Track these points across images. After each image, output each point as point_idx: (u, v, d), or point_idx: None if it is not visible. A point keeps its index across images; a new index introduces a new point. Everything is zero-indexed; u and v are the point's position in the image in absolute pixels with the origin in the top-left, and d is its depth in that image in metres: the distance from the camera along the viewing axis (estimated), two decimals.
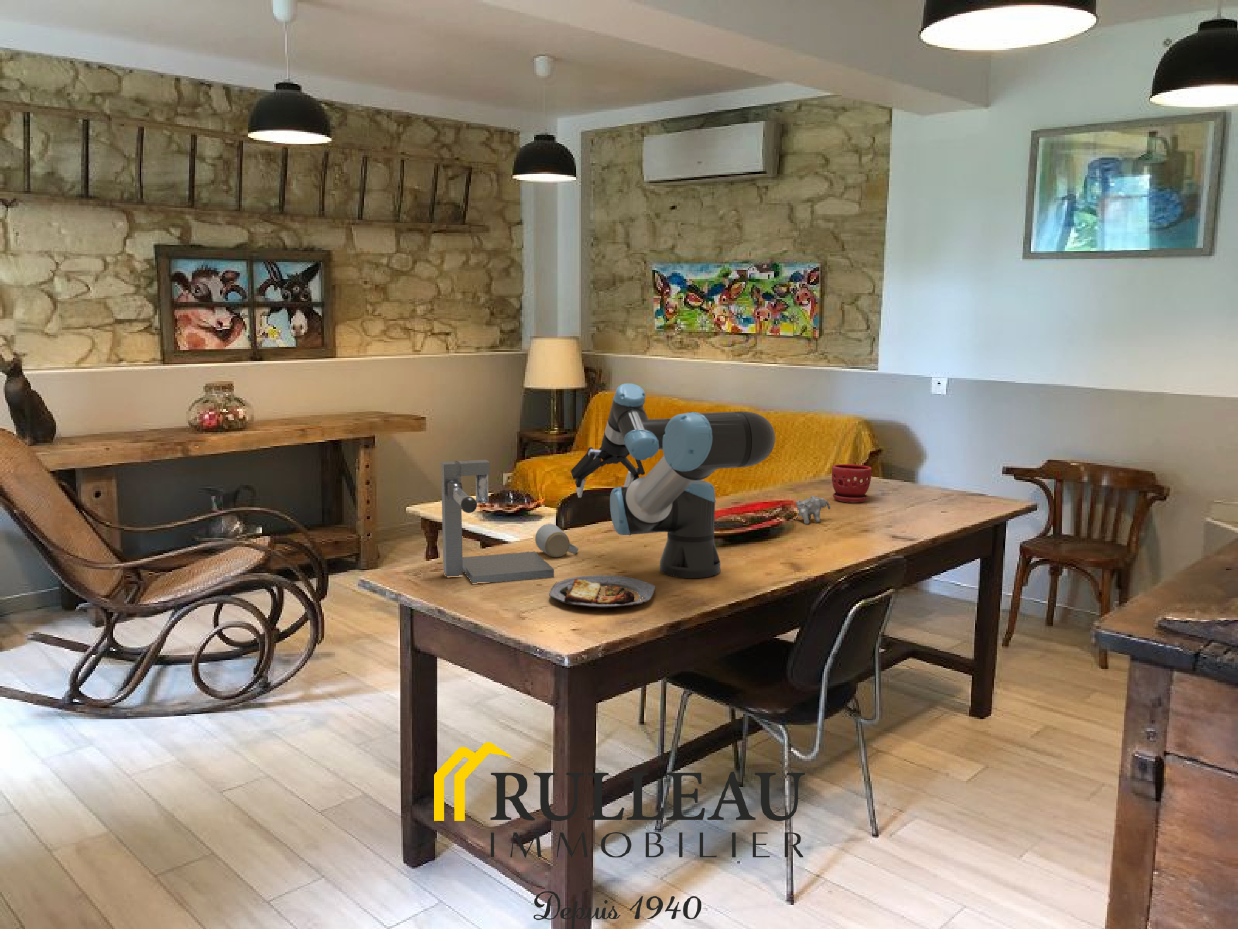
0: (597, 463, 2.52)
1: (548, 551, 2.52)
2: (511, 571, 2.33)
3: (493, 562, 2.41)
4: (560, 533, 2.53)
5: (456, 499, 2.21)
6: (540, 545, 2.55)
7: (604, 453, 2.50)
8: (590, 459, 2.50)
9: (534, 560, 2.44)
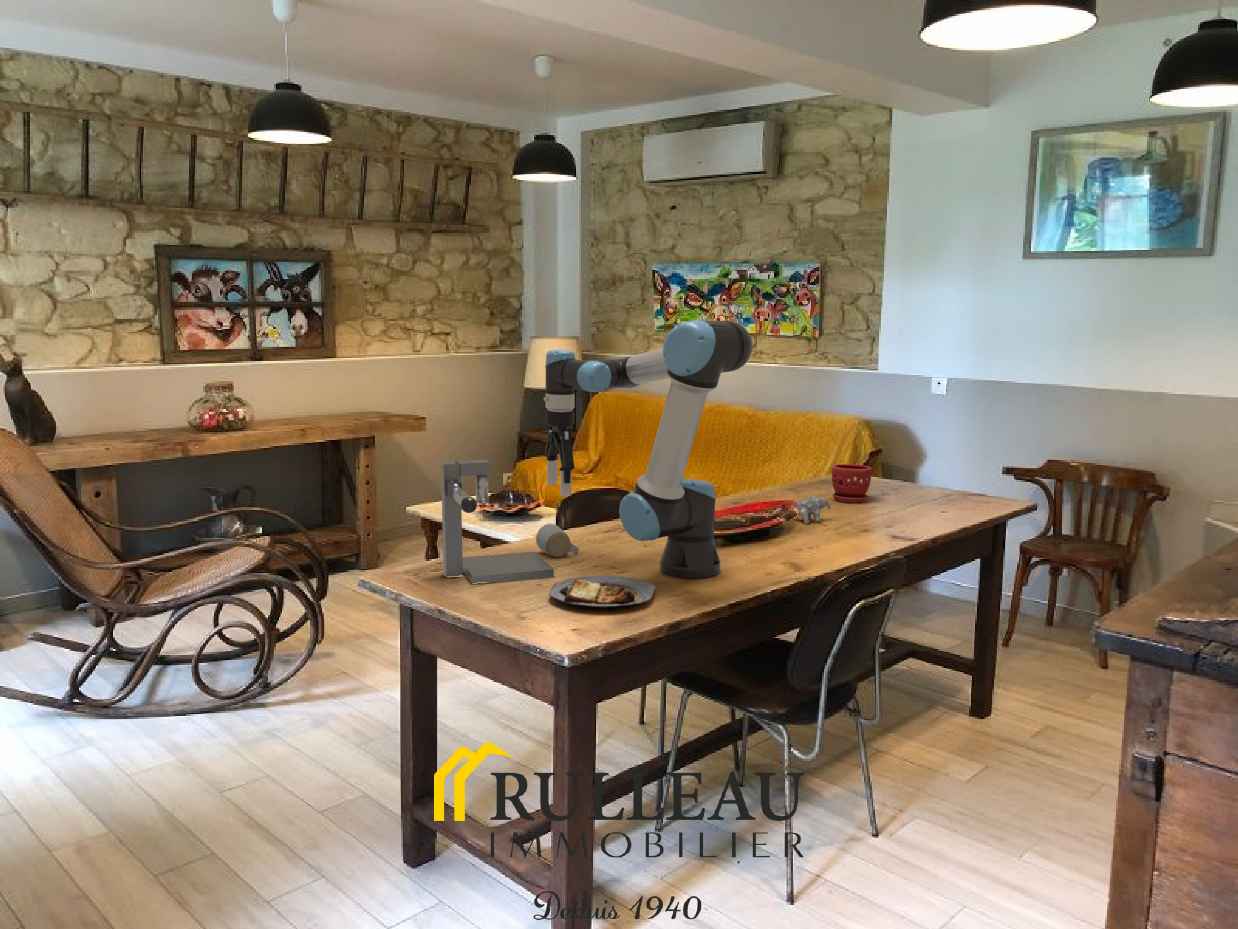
0: None
1: (549, 551, 2.52)
2: (511, 571, 2.33)
3: (493, 562, 2.41)
4: (561, 533, 2.53)
5: (456, 499, 2.21)
6: (541, 545, 2.55)
7: None
8: None
9: (534, 560, 2.44)
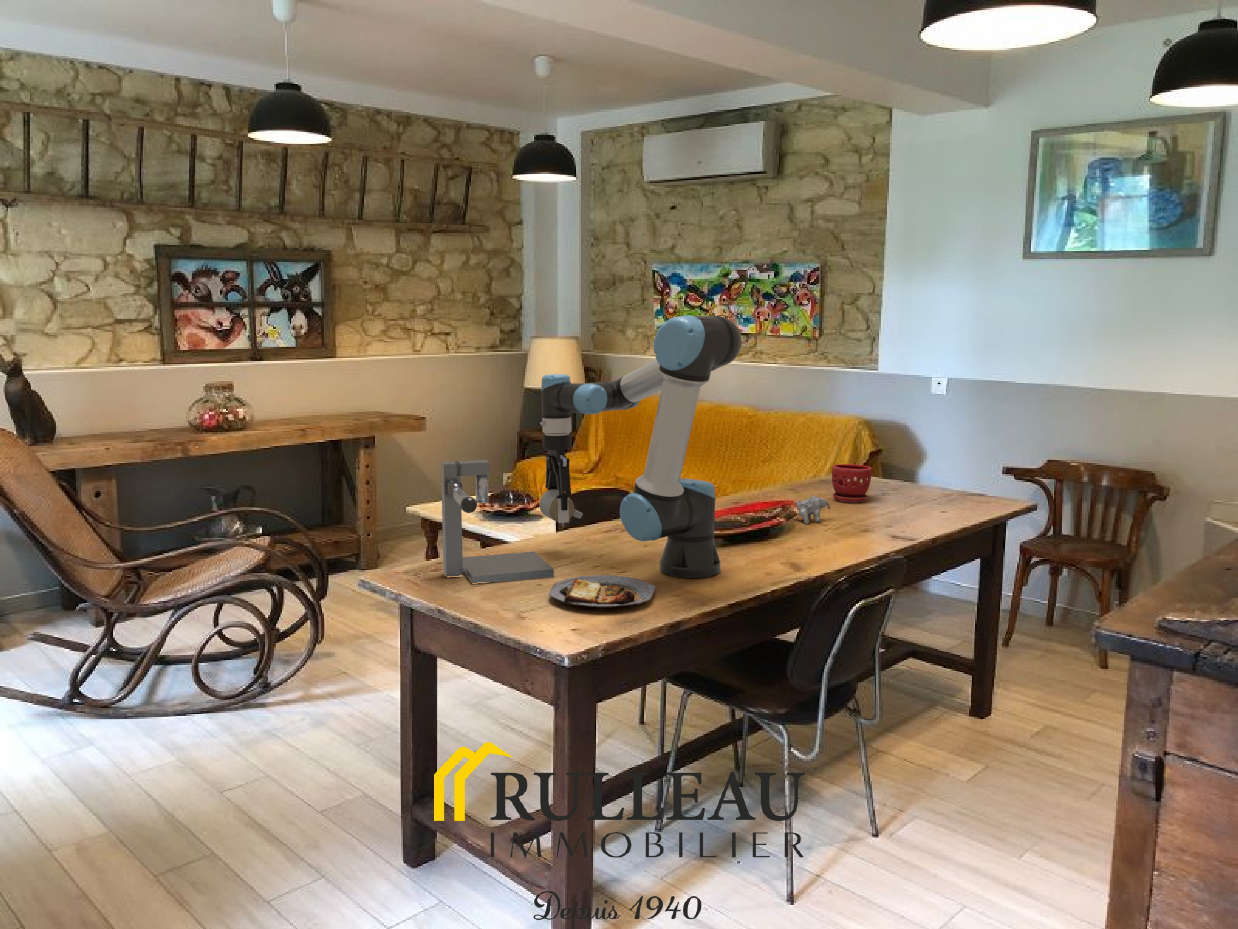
0: None
1: (552, 515, 2.51)
2: (511, 571, 2.33)
3: (493, 562, 2.41)
4: None
5: (456, 499, 2.21)
6: (544, 510, 2.54)
7: None
8: None
9: (534, 560, 2.44)
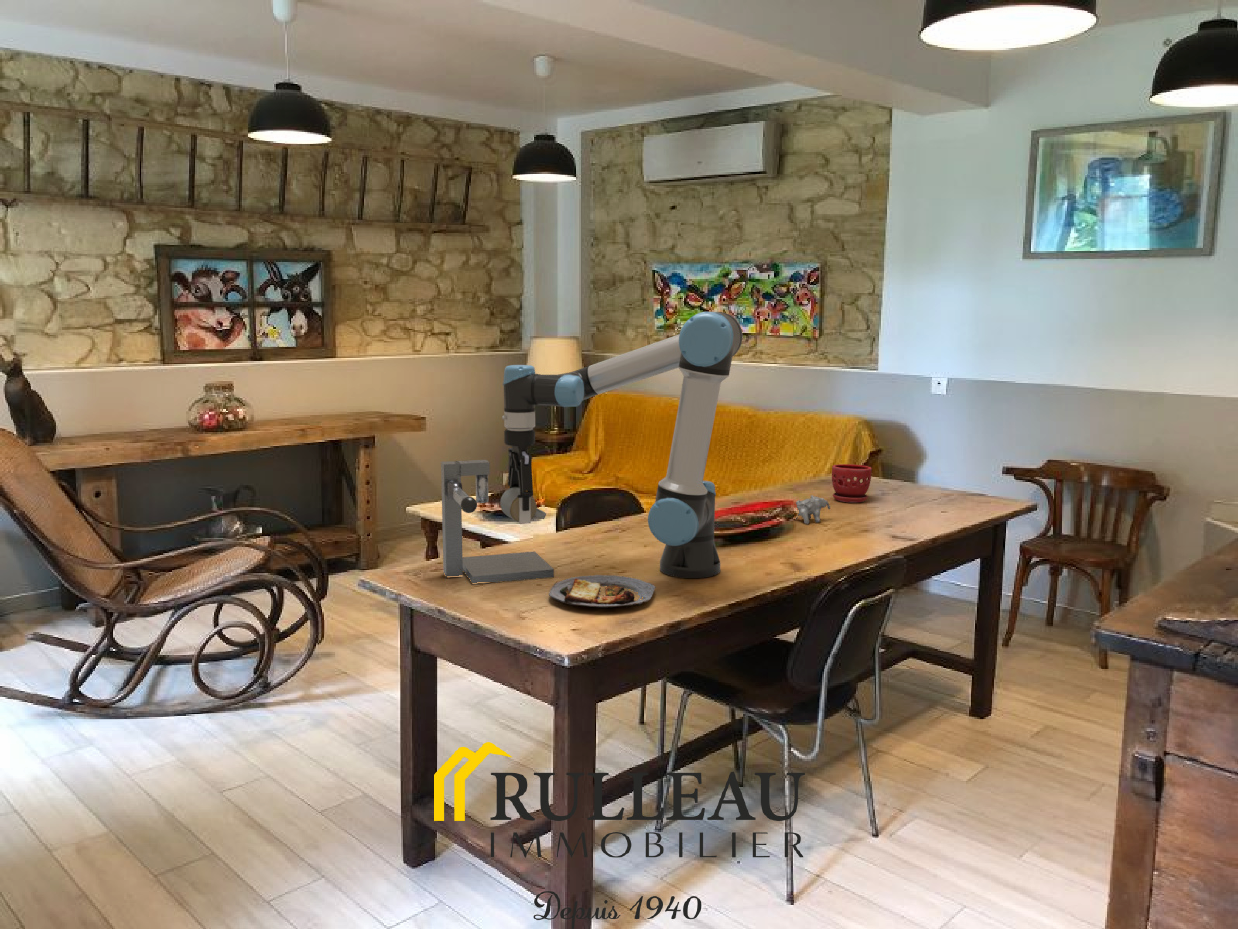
0: None
1: (513, 515, 2.35)
2: (511, 571, 2.33)
3: (493, 562, 2.41)
4: None
5: (456, 499, 2.21)
6: (505, 509, 2.38)
7: None
8: None
9: (534, 560, 2.44)
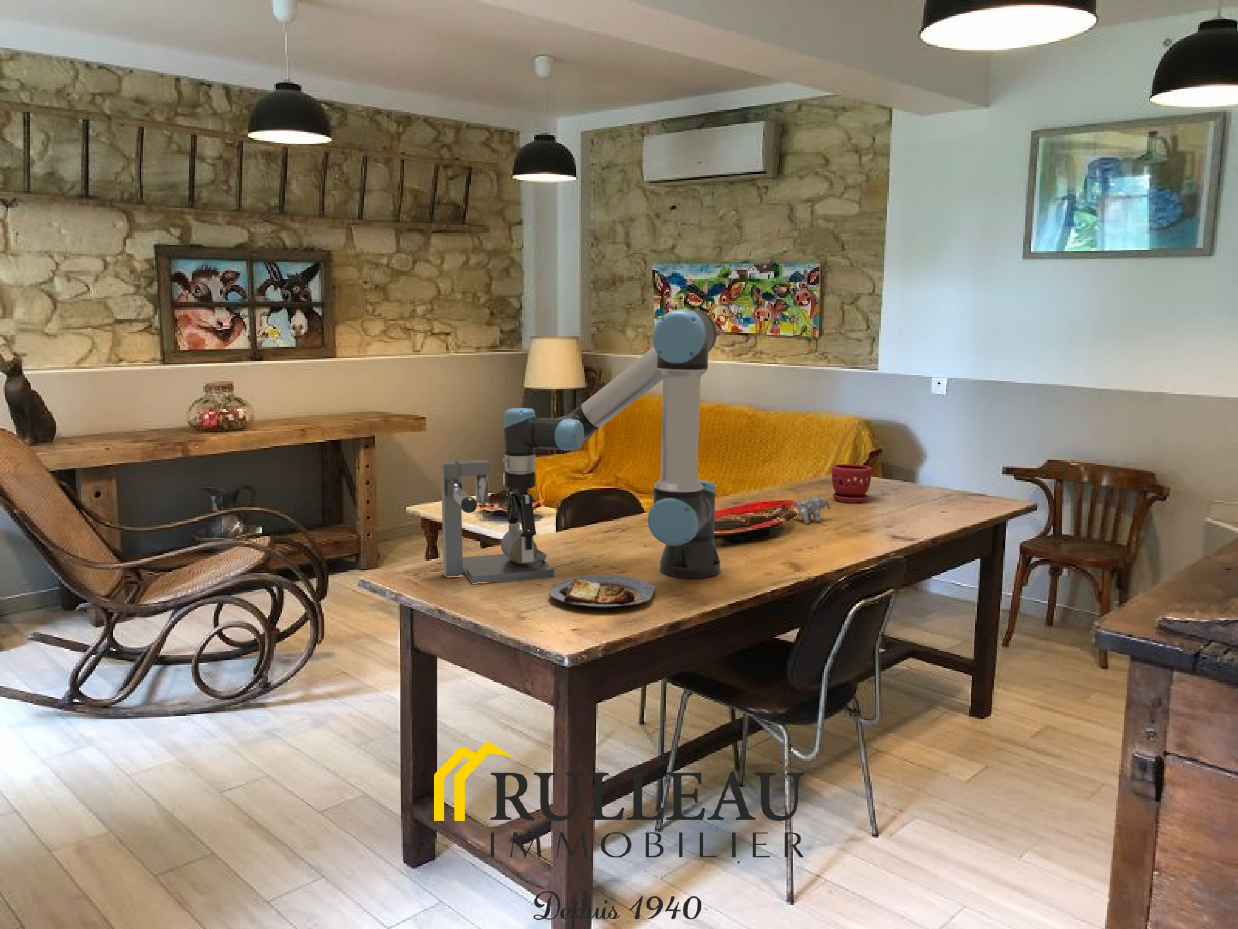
0: None
1: (514, 558, 2.37)
2: (511, 571, 2.33)
3: (493, 562, 2.41)
4: None
5: (456, 499, 2.21)
6: (506, 552, 2.40)
7: None
8: None
9: (534, 560, 2.44)
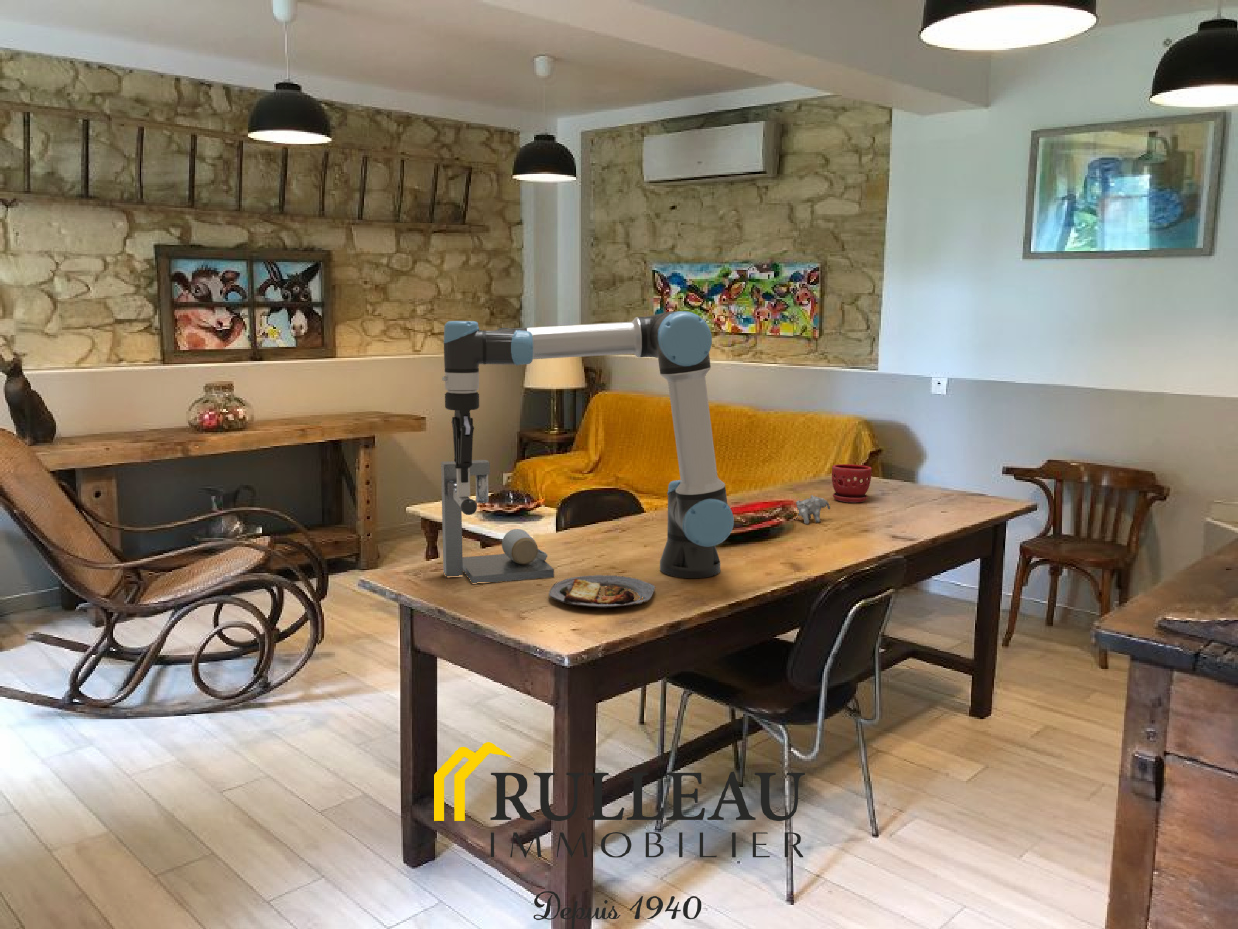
0: None
1: (515, 558, 2.37)
2: (511, 571, 2.33)
3: (493, 562, 2.41)
4: (527, 539, 2.38)
5: (456, 500, 2.22)
6: (507, 551, 2.40)
7: None
8: None
9: (534, 560, 2.44)
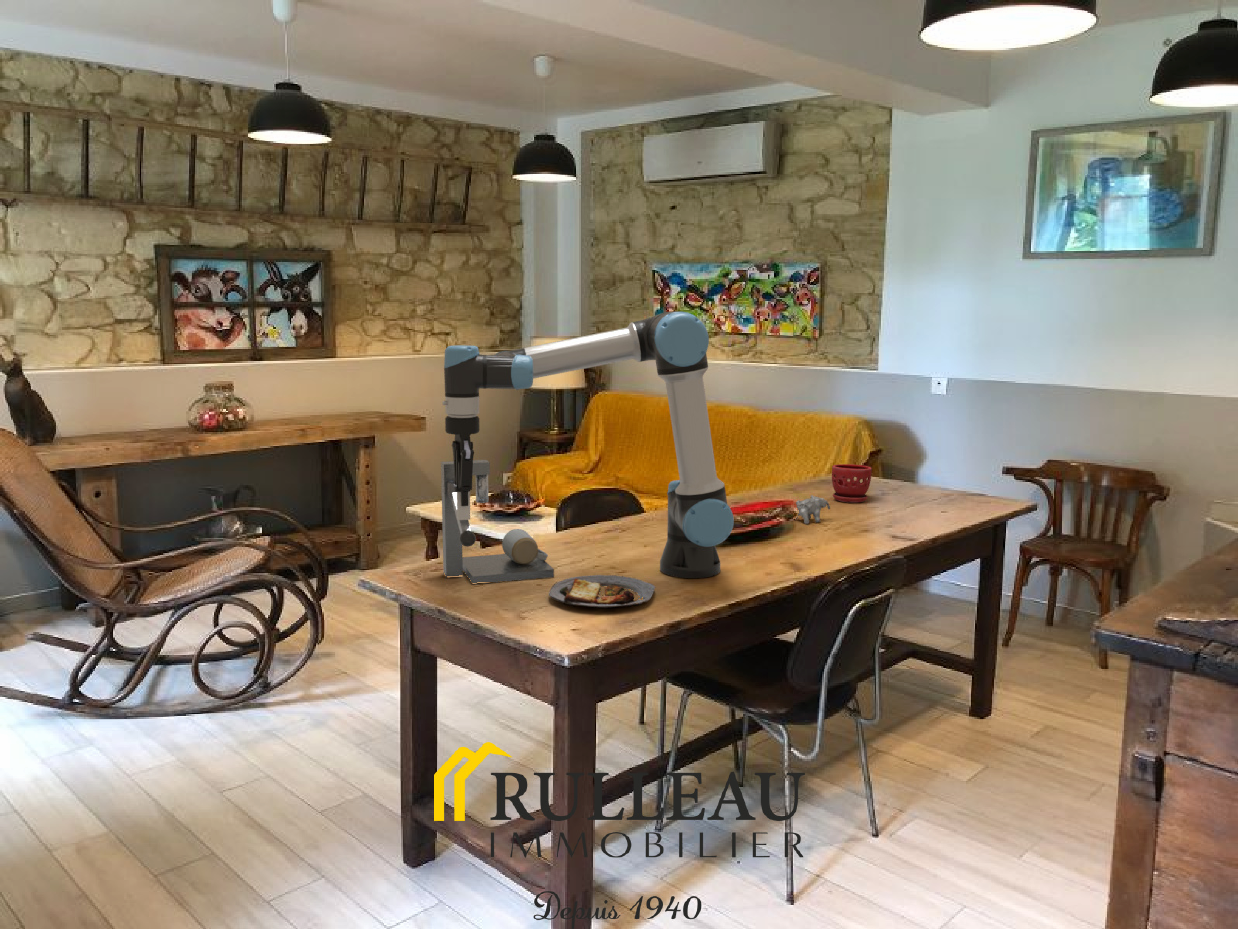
0: None
1: (515, 558, 2.37)
2: (511, 571, 2.33)
3: (493, 562, 2.41)
4: (528, 539, 2.38)
5: (455, 513, 2.23)
6: (507, 551, 2.40)
7: None
8: None
9: (534, 560, 2.44)
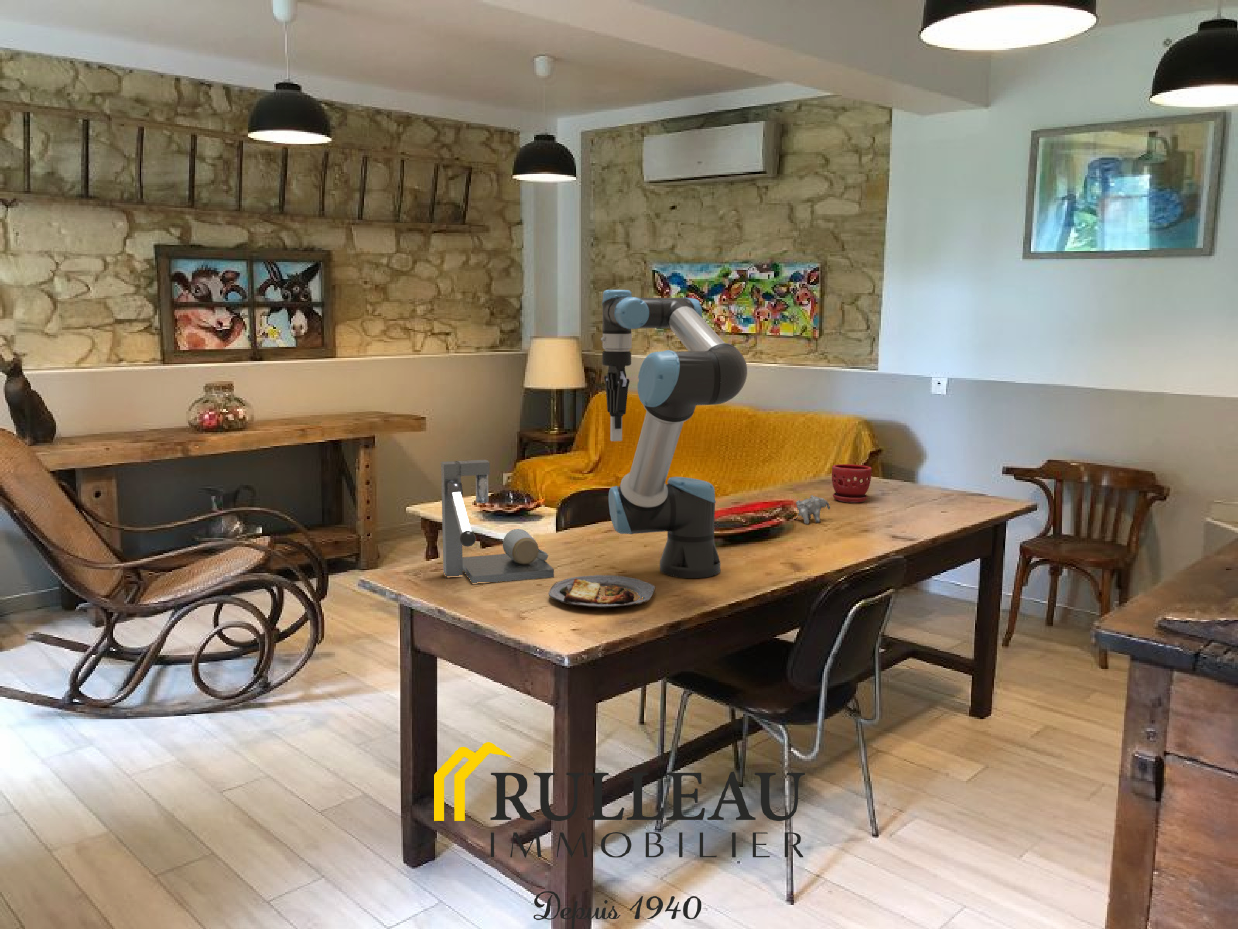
0: None
1: (515, 558, 2.37)
2: (511, 571, 2.33)
3: (493, 562, 2.41)
4: (528, 539, 2.38)
5: (455, 513, 2.23)
6: (507, 551, 2.40)
7: None
8: None
9: (534, 560, 2.44)
